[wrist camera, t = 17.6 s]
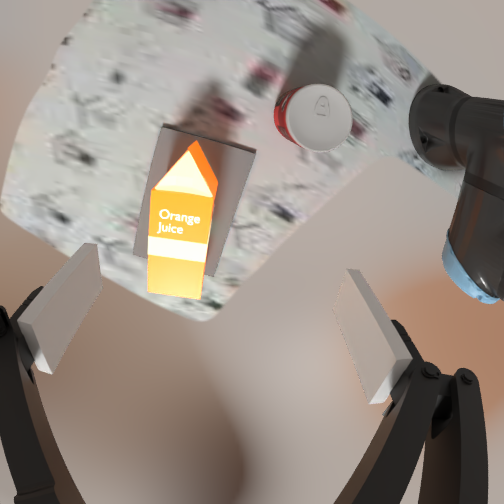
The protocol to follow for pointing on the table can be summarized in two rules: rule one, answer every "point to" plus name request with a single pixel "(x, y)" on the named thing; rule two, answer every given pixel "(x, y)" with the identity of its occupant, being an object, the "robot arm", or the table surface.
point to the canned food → (314, 117)
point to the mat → (227, 194)
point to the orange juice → (181, 226)
